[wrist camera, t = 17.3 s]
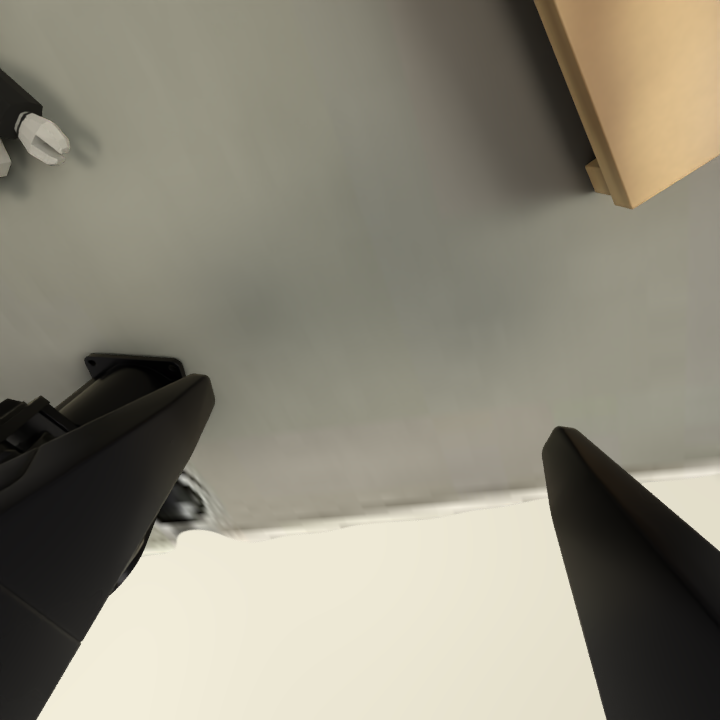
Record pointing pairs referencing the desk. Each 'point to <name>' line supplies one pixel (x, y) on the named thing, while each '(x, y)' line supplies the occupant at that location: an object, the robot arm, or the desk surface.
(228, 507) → the desk surface
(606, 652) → the robot arm
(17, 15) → the desk surface
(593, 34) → the shelf
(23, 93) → the robot toy
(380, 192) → the desk surface
